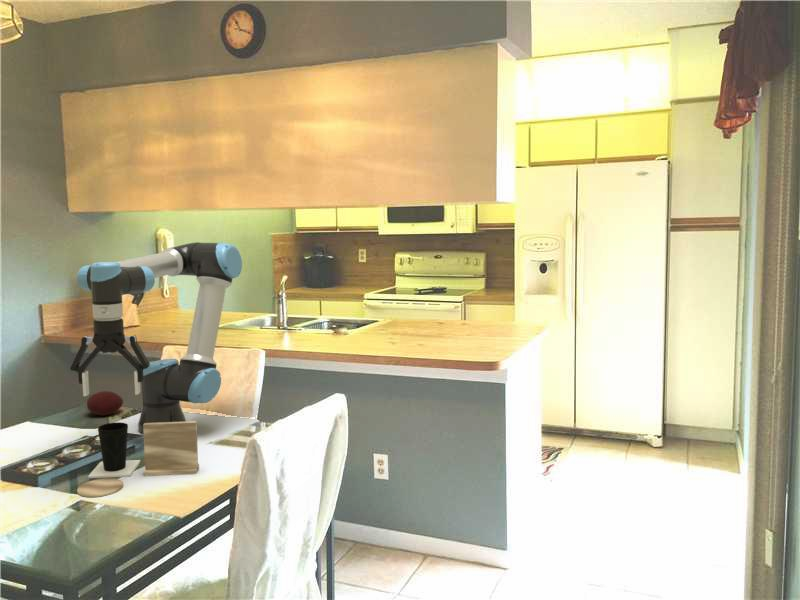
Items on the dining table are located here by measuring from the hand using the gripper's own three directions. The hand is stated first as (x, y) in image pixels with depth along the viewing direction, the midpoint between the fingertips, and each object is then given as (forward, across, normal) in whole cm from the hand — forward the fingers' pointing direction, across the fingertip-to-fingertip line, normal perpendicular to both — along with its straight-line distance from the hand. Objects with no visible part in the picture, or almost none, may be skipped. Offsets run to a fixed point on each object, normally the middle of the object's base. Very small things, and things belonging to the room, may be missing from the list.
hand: (112, 394), depth 182 cm
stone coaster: (+22, 0, 0) cm, 22 cm away
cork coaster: (+22, 0, -14) cm, 26 cm away
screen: (+22, +16, -4) cm, 27 cm away
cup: (+21, 0, 0) cm, 21 cm away
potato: (+22, -19, +56) cm, 63 cm away
